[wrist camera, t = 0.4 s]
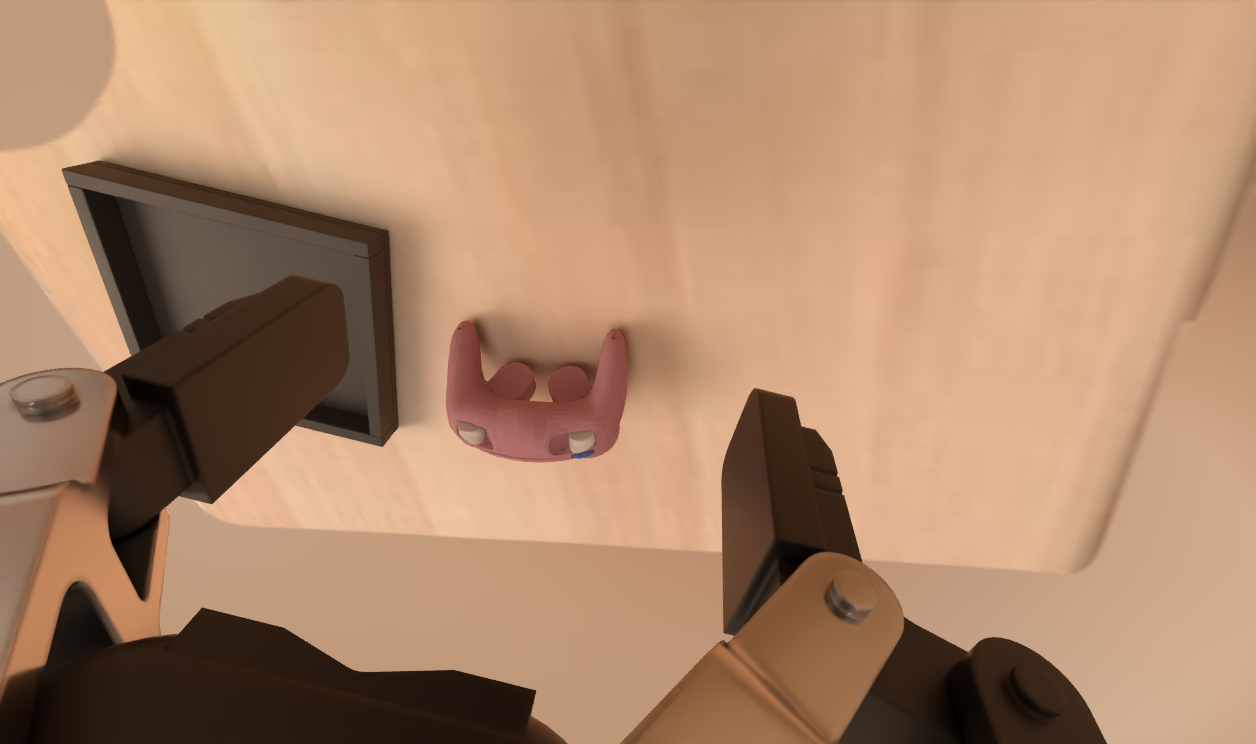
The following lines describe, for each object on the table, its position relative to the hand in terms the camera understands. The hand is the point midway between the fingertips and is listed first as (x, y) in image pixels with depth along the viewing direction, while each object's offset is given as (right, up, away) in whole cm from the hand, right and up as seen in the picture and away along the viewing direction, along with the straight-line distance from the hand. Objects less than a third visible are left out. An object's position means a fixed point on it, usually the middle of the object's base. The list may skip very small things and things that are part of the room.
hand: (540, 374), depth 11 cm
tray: (-20, +4, +21) cm, 29 cm away
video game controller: (-3, +1, +21) cm, 21 cm away
